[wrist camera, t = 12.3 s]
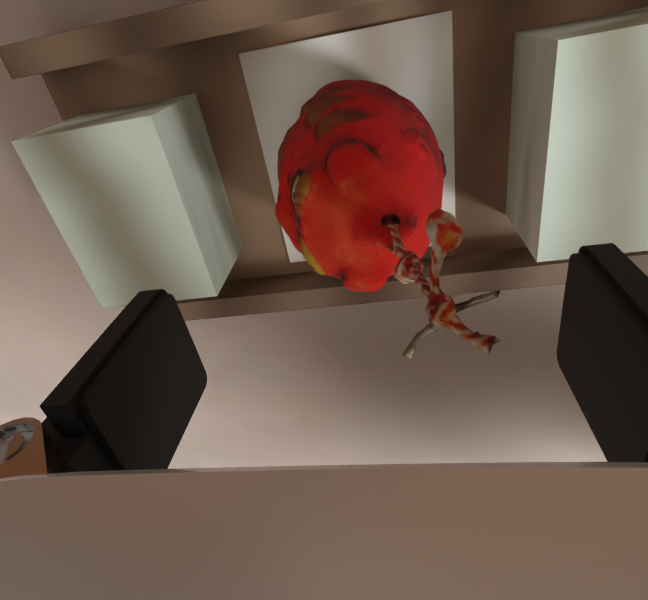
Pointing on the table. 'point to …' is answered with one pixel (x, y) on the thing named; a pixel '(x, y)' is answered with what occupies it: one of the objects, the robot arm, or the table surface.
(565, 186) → the display tray
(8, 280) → the table surface
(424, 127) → the red clay folk toy
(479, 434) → the table surface
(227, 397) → the table surface
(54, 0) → the table surface
